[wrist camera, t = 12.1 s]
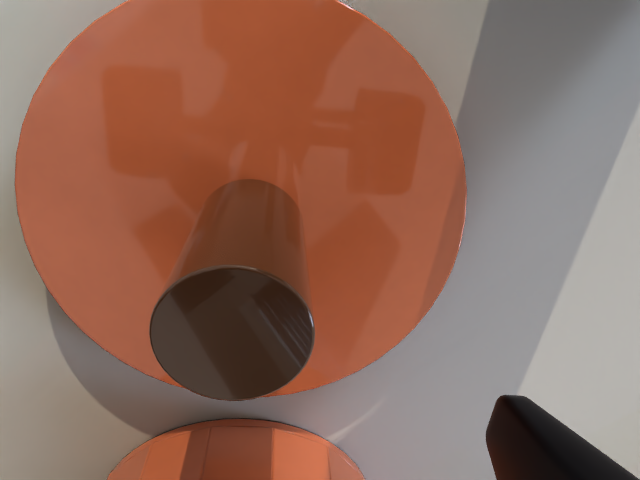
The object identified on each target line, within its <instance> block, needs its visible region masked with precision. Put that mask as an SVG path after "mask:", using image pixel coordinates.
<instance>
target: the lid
mask: <svg viewBox="0 0 640 480" xmlns="http://www.w3.org/2000/svg"><path fill="white" fill-rule="evenodd" d="M15 192H16V201H17V211H18V216H19V220H20V224H21V228H22V232H23V236H24V240H25V243H26V245H27V248H28V250H29V253H30V255H31V258H32V260H33V263H34V265H35V268H36V269H37V271H38V273H39V275H40V276H41V278H42V280H43V282H44V284H45V285H46V287H47V289H48V291H49V292H50V293H51V295H52V296H53V297H54V299H55V300H56V301H57V303H58V304H59V306H60V307H61V308H62V310H63V311H64V312H65V313H66V314H67V315H68V317H69V318H70V319H71V320H72V321H73V322H74V323H75V324H76V325H77V326H78V327H79V328H80V329H81V330H82V331H83V332H84V333H85V334H86V335H87V336H88V337H90V338H91V339H92V340H93V341H94V342H96V343H97V344H98V345H99V346H100V347H102V348H103V349H104V350H106V351H107V352H109V353H110V354H112V355H113V356H115V357H116V358H118V359H119V360H121V361H122V362H124V363H125V364H127V365H129V366H131V367H133V368H135V369H137V370H139V371H140V372H142V373H144V374H146V375H148V376H151V377H153V378H156V379H158V380H161V381H163V382H166V383H168V384H171V385H175V386H178V387H182V388H185V389H188V390H190V391H192V392H194V393H196V394H199V395H201V396H205V397H208V398H212V399H218V400H227V401H242V400H250V399H255V398H259V397H270V396H278V395H286V394H293V393H297V392H301V391H306V390H310V389H314V388H317V387H320V386H323V385H326V384H329V383H332V382H335V381H338V380H340V379H342V378H344V377H346V376H348V375H351V374H353V373H355V372H357V371H359V370H361V369H362V368H364V367H366V366H367V365H369V364H371V363H372V362H374V361H376V360H377V359H379V358H380V357H382V356H383V355H384V354H385V353H387V352H388V351H389V350H391V349H392V348H393V347H395V346H396V345H397V344H398V343H399V342H400V341H401V340H402V339H404V338H405V337H406V336H407V335H408V334H409V333H410V332H411V331H412V330H413V329H414V328H415V327H416V326H417V324H418V323H419V322H420V321H421V319H422V318H423V317H424V316H425V315H426V313H427V312H428V311H429V310H430V308H431V307H432V305H433V303H434V302H435V300H436V299H437V297H438V296H439V294H440V293H441V291H442V289H443V287H444V285H445V283H446V281H447V279H448V277H449V275H450V273H451V270H452V268H453V266H454V263H455V260H456V257H457V254H458V251H459V247H460V244H461V240H462V235H463V229H464V224H465V218H466V200H467V186H466V175H465V164H464V159H463V155H462V151H461V146H460V142H459V138H458V134H457V132H456V129H455V127H454V124H453V122H452V119H451V116H450V114H449V111H448V109H447V107H446V105H445V103H444V101H443V100H442V98H441V96H440V94H439V93H438V91H437V89H436V87H435V85H434V84H433V82H432V80H431V79H430V78H429V77H428V75H427V74H426V73H425V71H424V70H423V69H422V67H421V66H420V65H419V63H418V62H417V61H416V60H415V58H414V57H413V56H412V55H411V54H410V53H409V52H408V51H407V50H406V49H405V48H404V47H403V46H402V45H401V44H400V43H399V42H398V41H397V40H396V39H395V38H394V37H393V36H392V35H391V34H390V33H388V32H387V31H386V30H384V29H383V28H381V27H380V26H379V25H377V24H376V23H375V22H373V21H372V20H371V19H369V18H368V17H367V16H365V15H364V14H362V13H360V12H359V11H357V10H355V9H353V8H351V7H349V6H347V5H346V4H344V3H342V2H340V1H338V0H128V1H125V2H124V3H122V4H120V5H119V6H117V7H116V8H114V9H112V10H111V11H109V12H108V13H106V14H104V15H103V16H101V17H100V18H98V19H96V20H95V21H94V22H93V23H92V24H90V25H89V26H88V27H87V28H86V29H85V30H84V31H83V32H81V33H80V34H79V35H78V36H77V37H76V38H75V39H73V40H72V41H71V42H70V43H69V44H68V46H67V47H66V48H65V49H64V50H63V52H62V53H61V54H60V55H59V57H58V58H57V59H56V60H55V61H54V63H53V64H52V65H51V66H50V68H49V69H48V71H47V73H46V74H45V76H44V78H43V80H42V81H41V83H40V85H39V87H38V88H37V90H36V92H35V93H34V95H33V98H32V100H31V103H30V106H29V108H28V111H27V114H26V116H25V119H24V122H23V124H22V129H21V134H20V138H19V143H18V148H17V153H16V169H15Z"/></svg>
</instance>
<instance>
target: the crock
mask: <svg viewBox="0 0 640 480" xmlns="http://www.w3.org/2000/svg"><path fill="white" fill-rule="evenodd" d="M106 480H365V478H364V476H363V474H362V472H361V471H360V470H359V468H358V467H357V466H356V464H355V463H354V462H353V461H352V460H351V459H350V458H349V457H348V456H347V455H346V454H345V453H344V452H343V451H342V450H340V449H339V448H338V447H336V446H335V445H333V444H332V443H330V442H329V441H327V440H325V439H323V438H321V437H320V436H318V435H316V434H313V433H311V432H308V431H306V430H303V429H301V428H297V427H294V426H290V425H286V424H283V423H277V422H271V421H266V420H254V419H221V420H213V421H205V422H200V423H196V424H191V425H187V426H183V427H180V428H177V429H174V430H171V431H168V432H165V433H163V434H161V435H159V436H157V437H155V438H153V439H150V440H148V441H147V442H145V443H144V444H142V445H140V446H139V447H137V448H136V449H134V450H133V451H132V452H130V453H129V454H128V455H127V456H126V457H124V458H123V459H122V460H121V461H120V462H119V463H118V464H117V466H116V467H115V468H114V469H113V470H112V471H111V473H110V474H109V476H108V477H107V479H106Z"/></svg>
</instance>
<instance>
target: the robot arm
mask: <svg viewBox="0 0 640 480" xmlns="http://www.w3.org/2000/svg"><path fill="white" fill-rule="evenodd" d="M486 443H487V448H488V451H489V455H490V458H491V461H492V465H493V468H494V472H495V475H496V479H497V480H639V479H638V478H637V477H635V476H634V475H633V474H631V473H630V472H629V471H627V470H626V469H624V468H623V467H622V466H620V465H619V464H618V463H616V462H615V461H613V460H612V459H611V458H609V457H608V456H607V455H605V454H604V453H602V452H601V451H600V450H598V449H597V448H596V447H594V446H593V445H591V444H590V443H589V442H587V441H586V440H585V439H583V438H582V437H581V436H579V435H578V434H576V433H575V432H574V431H572V430H571V429H570V428H568V427H567V426H565V425H564V424H563V423H561V422H560V421H559V420H557V419H556V418H554V417H553V416H552V415H550V414H549V413H548V412H546V411H545V410H543V409H542V408H541V407H539V406H538V405H537V404H535V403H534V402H533V401H531V400H530V399H528V398H527V397H524V396H517V395H503V396H500V397H499V398H498V399H497V401H496V404H495V407H494V410H493V412H492V415H491V418H490V421H489V424H488V427H487V431H486Z"/></svg>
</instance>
